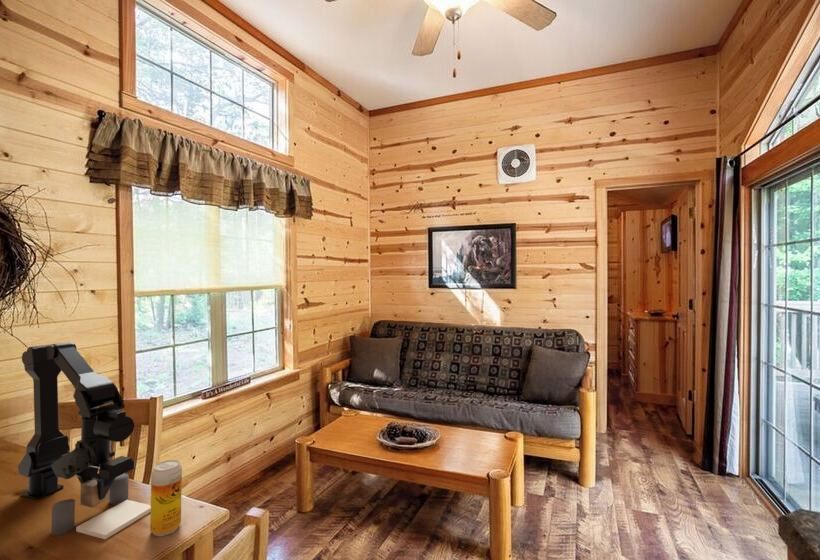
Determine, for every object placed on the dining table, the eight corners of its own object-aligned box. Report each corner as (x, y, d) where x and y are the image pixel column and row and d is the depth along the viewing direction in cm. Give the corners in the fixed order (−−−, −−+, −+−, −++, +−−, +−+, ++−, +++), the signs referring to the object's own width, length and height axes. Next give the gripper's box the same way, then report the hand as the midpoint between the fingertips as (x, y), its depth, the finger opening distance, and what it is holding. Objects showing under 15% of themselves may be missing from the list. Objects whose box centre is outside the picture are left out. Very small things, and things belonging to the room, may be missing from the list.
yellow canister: (166, 539, 89) (167, 472, 89) (143, 535, 90) (144, 469, 90) (186, 523, 95) (188, 460, 95) (165, 519, 96) (166, 457, 96)
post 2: (105, 502, 102) (105, 479, 102) (120, 495, 106) (121, 472, 106) (116, 505, 101) (117, 482, 101) (131, 497, 105) (132, 475, 105)
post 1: (46, 533, 90) (47, 507, 90) (66, 523, 94) (67, 497, 94) (59, 536, 89) (59, 510, 89) (78, 526, 93) (79, 500, 93)
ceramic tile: (76, 531, 91) (76, 527, 91) (127, 503, 102) (127, 499, 102) (105, 539, 88) (105, 535, 88) (153, 509, 100) (153, 505, 100)
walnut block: (80, 504, 96) (80, 484, 96) (97, 496, 100) (98, 476, 100) (92, 507, 95) (92, 486, 95) (109, 498, 99) (109, 478, 99)
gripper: (31, 441, 92) (29, 508, 92) (88, 452, 87) (87, 523, 87) (82, 425, 103) (81, 485, 103) (136, 434, 98) (135, 497, 98)
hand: (95, 497), depth 97 cm, fingers closed on walnut block, 4 cm apart
